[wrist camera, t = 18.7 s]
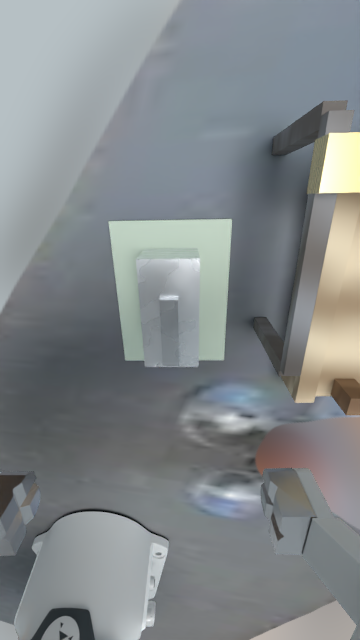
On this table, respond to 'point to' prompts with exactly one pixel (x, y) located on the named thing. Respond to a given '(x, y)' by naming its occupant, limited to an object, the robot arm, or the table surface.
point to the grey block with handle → (169, 306)
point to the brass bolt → (335, 164)
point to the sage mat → (213, 275)
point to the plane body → (321, 283)
